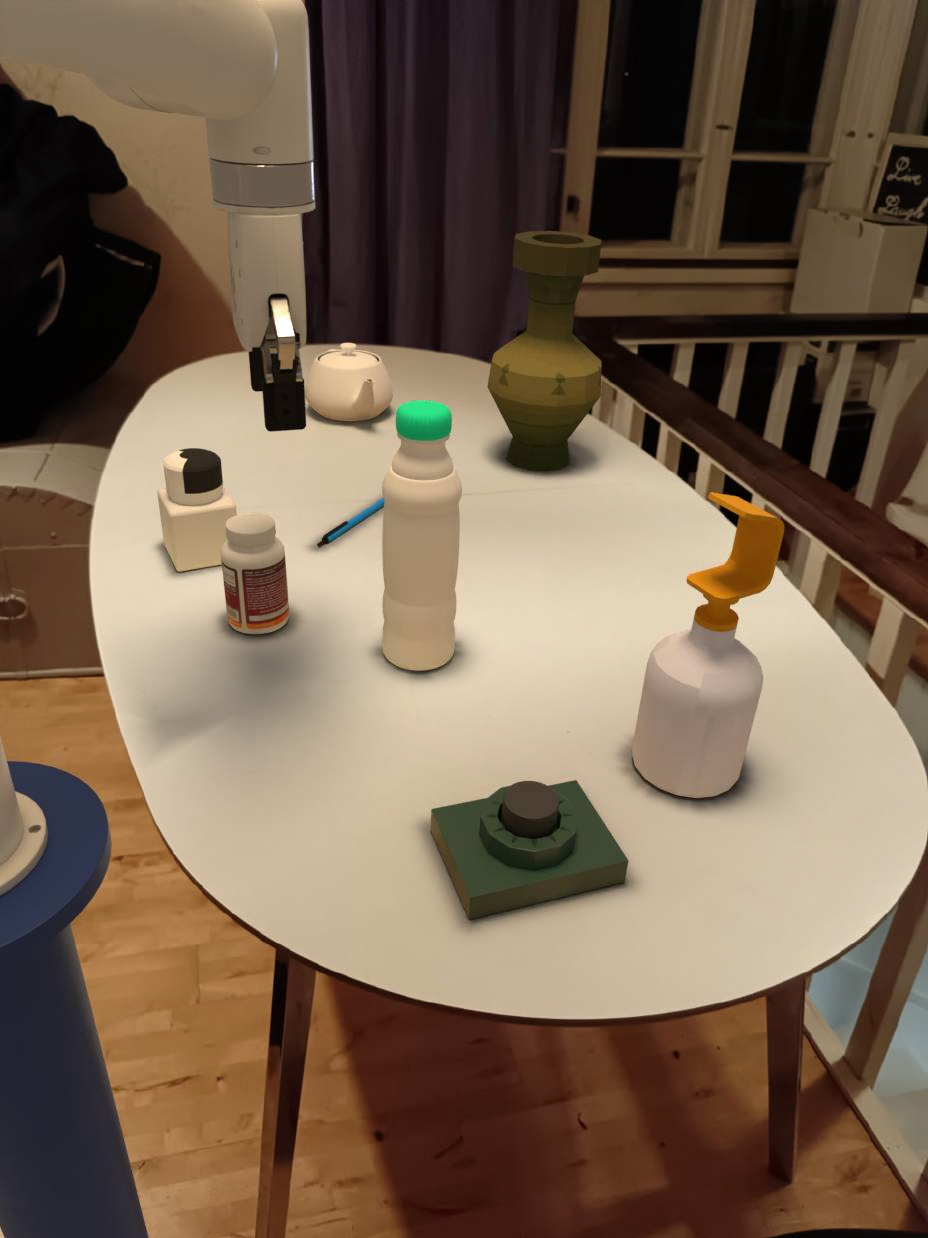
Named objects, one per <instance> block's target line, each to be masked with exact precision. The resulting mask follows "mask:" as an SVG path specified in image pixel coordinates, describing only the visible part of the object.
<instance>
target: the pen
mask: <svg viewBox="0 0 928 1238" xmlns="http://www.w3.org/2000/svg"><path fill="white" fill-rule="evenodd" d="M384 503H385V500H384V497H383V498H381V499H379V500H378V501H376V502H375V503H373V504H372V505H370V506H369V507H367V508H365V509H364V510H362V511H361V512H360V513H358V514H357V515H355V516H353V517H351V518H350V519H348V520H345V521H343V522H342V523H340V524H338V525H337V526H335V527H334V528H332V529H331V530H329V531H328V532H326V533H325V534H324V535H322V538H321V540H320V541H319V542H318V543H316V546H317V547H320V546H322V545H324V544H325V545H328V544H329V543H330V542H332V541H334V540H335V539H336V538H338V537H339V536H342V535H343V534H344V533H345V532H347V531H349V530H350V529H351V528H353V527H354V526H356V525H357V524H359V523H360V522H362V521H363V520H365V519H367V518H368V517H369V516H371V515H372V514H374V513H375V512H377V511H379V510H380V509H382V508H384Z"/></svg>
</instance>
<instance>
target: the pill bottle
mask: <svg viewBox="0 0 928 1238" xmlns="http://www.w3.org/2000/svg"><path fill="white" fill-rule="evenodd" d="M225 526H226V536H227V539H228V540H227V541H226V542H225V543H224V544H223V546H222V548H221V563H222V564H221V571H222V582H223V588H224V599H225V608H226V609H225V610H226V617H227V621H228V623H229V625H230V627H232V628H233V629H234V630H235V631H236V632H239V633H243V634H247V635H263V634H264V635H265V634H269V633H272V632H275V631H277V630H280V629H281V628H282V627H283V626H285V625H286V624H287V622H288V620H289V618H290V604H289V603H290V602H289V589H288V577H287V563H286V551H285V545H284V543H283V541H282V540H281V539H280V538H278V537H277V536H276V534H277V530H276V522H275V519H274V518H273V517H272V516H270V515H268V514H265V513H261V512H243V513H240V514H239V513H238V514H237V515H236V516H233V517H231V518H230V519H228V520H227V522H226V525H225Z"/></svg>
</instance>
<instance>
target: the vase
mask: <svg viewBox="0 0 928 1238" xmlns="http://www.w3.org/2000/svg"><path fill="white" fill-rule="evenodd" d="M513 241H514V242H513V255H512V267H513V268H515V269H517V270H519V271H522V272H525V278H526V284H527V291H528V297H529V301H528V302H529V303H528V315H527V326H526V327H527V328H526V330H525V331H523V332H522V333H521V334H520V335H518V336H517V337H515V338H514V339H511V341H509V342H508V343H506V344H505V345H503V346H502V347H500V348H499V349H497V350H496V351H495V352H494V353H493V355H492V359H491V361H490V368H489V375H488V381H487V389H488V392H489V393H490V395H491V397H492V399H493V401H494V403H495V405H496V407H497V409H498V411H499V413H500V415H501V417H502V419H503V421H504V423H505V425H506V426H507V429H508V430H509V431H508V432H509V433H510V435H511V439H510V441H509V446H508V449H507V452H506V456H505V460H506V462H508V463H509V464H510V465H511V466H512V467H516V468H518V469H521V470H524V471H528V472H539V473H548V472H557V471H562V470H563V469H565V468H567V467H570V465H571V454H570V446H569V439H570V438H571V436H572V435H573V434H574V432H575V431H576V430H577V428H578V427H579V426H580V424H581V423H582V422H583V421H584V419H585V418H586V416H587V415H588V414H589V412H590V411H591V410H592V408H593V407H594V406H595V404H596V403H597V402H598V401H599V399H600V398H601V397H602V360H601V359H600V358H599V357H598V356H597V355H595V353H594V352H593V351H591V350H590V349H589V348H588V346H586V345H585V344H584V343H583V342H582V341H581V340H580V339H579V338H578V337H577V336H575V334H574V333H573V330H574V318H575V310H576V301H577V298H578V295H579V293H580V290H581V287H582V284H583V281H584V278H585V276H591V275H594V274H597V273H599V267H600V257H601V250H602V249H601V248H602V240H601V238H597V237H594V236H592V235H589V234H582V233H577V232H570V231H557V230H556V231H555V230H535V231H532V230H529V231H524V232H520V233H519V232H518V233H516V234H515V236H514V240H513Z"/></svg>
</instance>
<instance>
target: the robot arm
mask: <svg viewBox="0 0 928 1238" xmlns="http://www.w3.org/2000/svg"><path fill="white" fill-rule="evenodd" d="M0 61H4V62H14V63H22V64H29V65H30V64H31V65H36V66H37V65H38V66H43V67H49V68H54V69H60V70H64V71H68V72H73V73H76V74H81V75H85V76H86V77H87V78H88V80H89V81H90V82H91V83H92V84H93V85H94V86H95V87H96V88H97V89H98V90H99V91H100V92H102V93H103V94H104V95H105V96H107V97H109V98H110V99H112V100H113V101H115V102H117V103H120V104H122V105H125V106H128V107H130V108H135V109H140V110H144V111H152V112H159V113H167V114H177V115H178V114H179V115H184V116H185V115H186V116H192V117H199V118H205V126H206V128H205V129H206V137H207V150H208V157H209V158H208V162H209V172H210V182H211V194H212V205H213V208H214V209H215V210H218V211H221V212H225V213H227V245H228V261H229V275H230V289H231V305H232V306H231V307H232V308H231V309H232V322H233V327H234V329H235V332H236V333H235V334H236V335H237V338H238V341H239V343H240V345H241V347H242V348H243V349H244V350H245V351H247V353H248V361H249V362H248V363H249V376H250V387H251V389H252V391H253V392H262V405H263V418H264V428H265V430H266V431H268V432H272V433H273V432H285V431H286V432H287V431H299V430H300V431H301V430H304V429H305V428H306V427H307V409H306V397H305V379H304V377H303V368H302V367H303V366H302V361H301V354H300V350H301V349H302V348H303V347H304V346H305V345H306V343H307V297H306V295H307V294H306V277H305V276H306V275H305V274H306V273H305V255H304V241H303V225H302V214H305V213H310V212H312V211H314V210H316V185H315V161H314V159H315V158H314V157H315V156H314V134H313V132H314V131H313V107H312V104H313V103H312V82H311V54H310V27H309V16H308V11H307V8H306V6H305V3H304V2H303V0H0ZM7 761H8V760H7V756H6V752H5V748H4V745H3V741H2V737H1V736H0V896H1V895H2V894H4V893H6V892H7V891H9V890H11V889H12V888H13V887H14V886H16V885H17V884H18V883H19V882H21V881H22V880H23V879H24V878H25V877H26V876H27V875H28V874H29V873H30V872H31V871H32V870H33V869H34V867H35V866H36V865H37V863H38V861H39V860H40V858H41V857H42V855H43V853H44V850H45V848H46V845H47V839H48V829H47V824H46V819H45V817H44V814H43V811H42V810H41V808H40V807H39V806H38V805H37V803H36V802H34V801H33V800H32V799H30V798H29V797H27V796H26V795H23V794H21V793H18V792H16V791H15V790H14V786H13V782H12V778H11V775H10V771H9V767H8V763H7Z"/></svg>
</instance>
